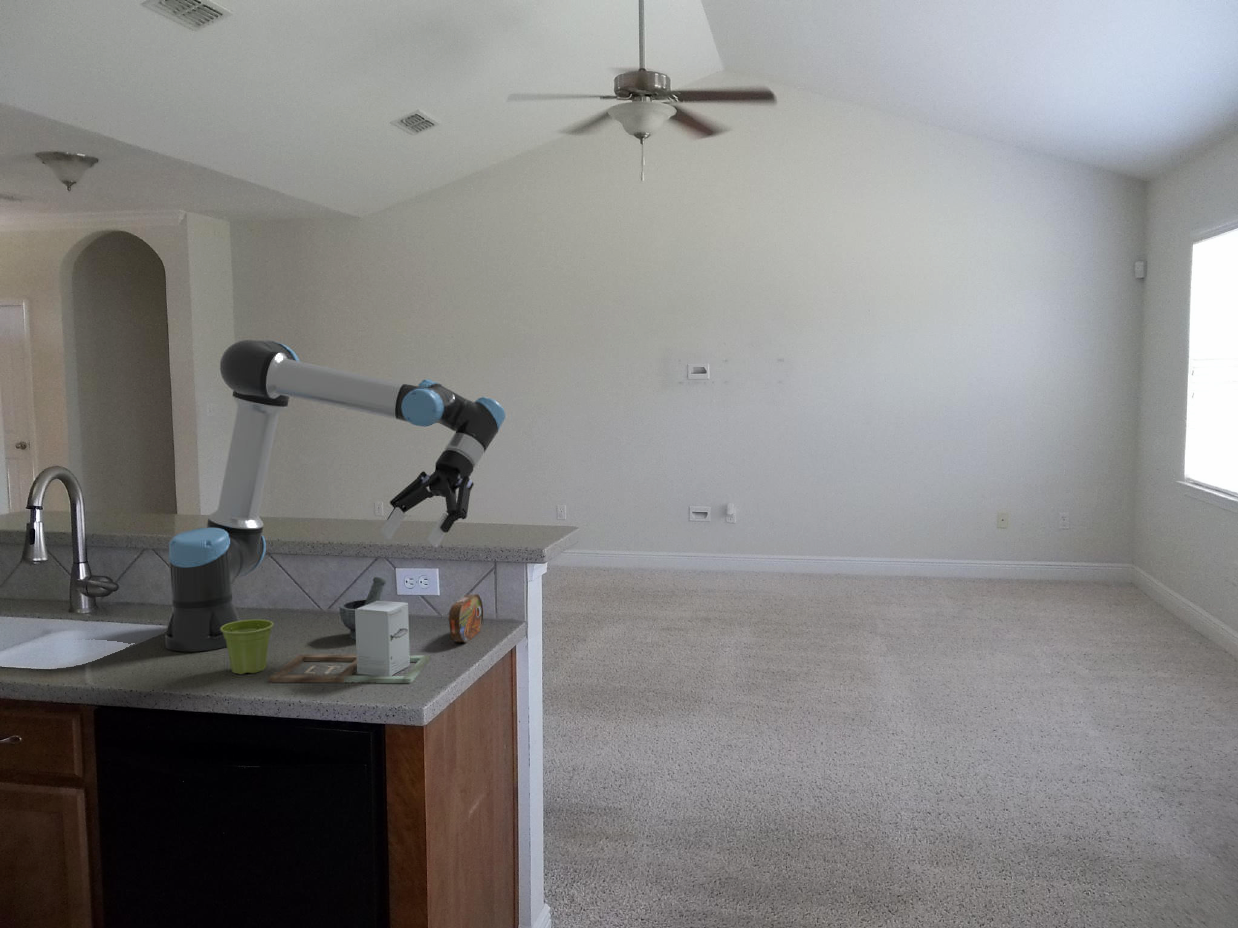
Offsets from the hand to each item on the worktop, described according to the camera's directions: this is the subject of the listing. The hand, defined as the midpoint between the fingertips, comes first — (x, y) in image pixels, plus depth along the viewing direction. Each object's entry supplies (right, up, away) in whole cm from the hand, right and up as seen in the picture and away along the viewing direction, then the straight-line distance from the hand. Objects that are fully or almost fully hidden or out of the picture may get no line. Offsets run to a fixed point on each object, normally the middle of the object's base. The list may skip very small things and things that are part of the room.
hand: (407, 539), depth 192 cm
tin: (+10, -22, +11) cm, 26 cm away
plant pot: (-28, -24, -9) cm, 38 cm away
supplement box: (-2, -24, -11) cm, 27 cm away
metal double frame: (-7, -24, -11) cm, 27 cm away
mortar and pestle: (-12, -22, +13) cm, 28 cm away
